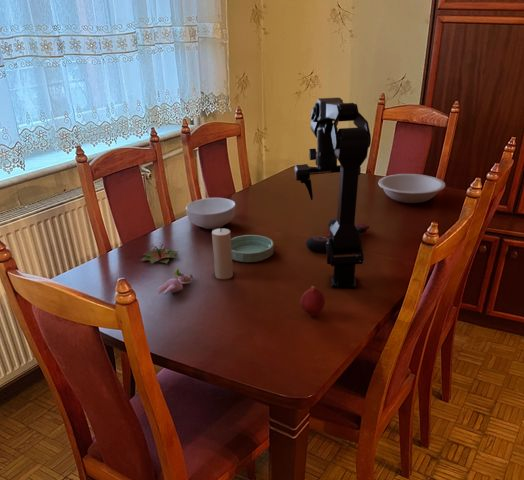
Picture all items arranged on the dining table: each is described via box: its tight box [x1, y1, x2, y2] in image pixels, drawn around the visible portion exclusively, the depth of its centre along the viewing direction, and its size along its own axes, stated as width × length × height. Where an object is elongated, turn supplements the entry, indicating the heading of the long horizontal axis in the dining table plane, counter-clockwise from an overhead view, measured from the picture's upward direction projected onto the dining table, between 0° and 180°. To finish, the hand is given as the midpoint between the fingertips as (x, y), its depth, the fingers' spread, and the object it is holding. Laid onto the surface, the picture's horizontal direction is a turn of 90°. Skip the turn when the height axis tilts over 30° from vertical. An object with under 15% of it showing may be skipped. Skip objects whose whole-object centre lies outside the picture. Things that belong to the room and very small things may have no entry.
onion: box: [300, 285, 326, 317], centre depth 132 cm, size 6×6×8 cm
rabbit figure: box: [157, 268, 194, 295], centre depth 145 cm, size 6×6×15 cm
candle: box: [211, 227, 234, 280], centre depth 150 cm, size 5×5×14 cm
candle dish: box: [231, 234, 275, 263], centre depth 165 cm, size 14×14×3 cm
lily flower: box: [141, 242, 179, 265], centre depth 164 cm, size 12×12×5 cm
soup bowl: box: [377, 173, 446, 204], centre depth 201 cm, size 24×24×7 cm
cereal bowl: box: [185, 197, 237, 230], centre depth 185 cm, size 17×17×7 cm
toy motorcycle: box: [305, 217, 370, 253], centre depth 171 cm, size 25×5×16 cm
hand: (326, 198), depth 163 cm, fingers open, 9 cm apart
